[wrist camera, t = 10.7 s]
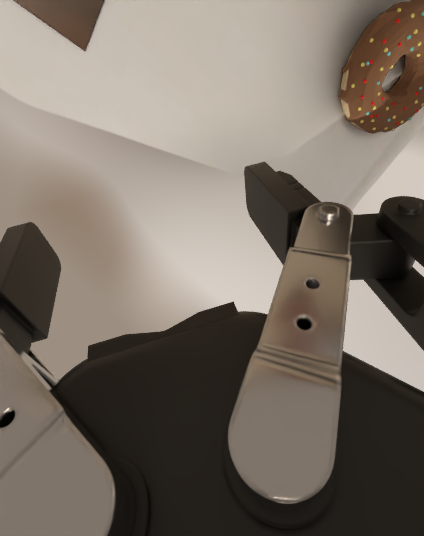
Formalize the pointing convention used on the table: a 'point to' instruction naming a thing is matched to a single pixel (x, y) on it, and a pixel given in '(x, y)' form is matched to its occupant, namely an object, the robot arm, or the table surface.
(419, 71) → the donut
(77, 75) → the table surface
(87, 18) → the placemat
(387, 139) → the table surface
